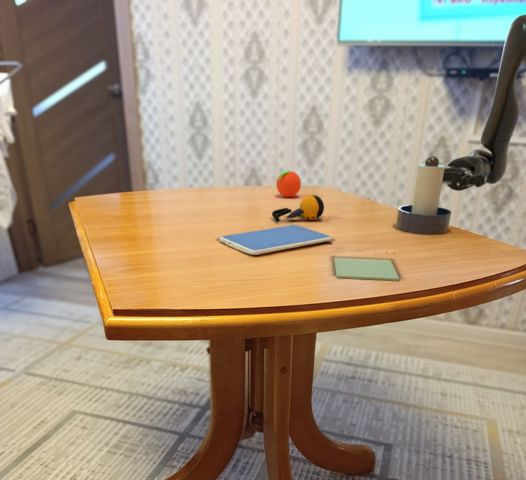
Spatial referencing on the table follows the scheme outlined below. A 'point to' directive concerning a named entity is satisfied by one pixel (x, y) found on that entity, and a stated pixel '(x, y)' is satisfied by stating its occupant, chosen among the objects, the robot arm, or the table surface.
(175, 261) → the table surface
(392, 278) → the napkin
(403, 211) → the bowl
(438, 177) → the pepper mill
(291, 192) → the clementine
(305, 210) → the character figurine
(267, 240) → the tablet
